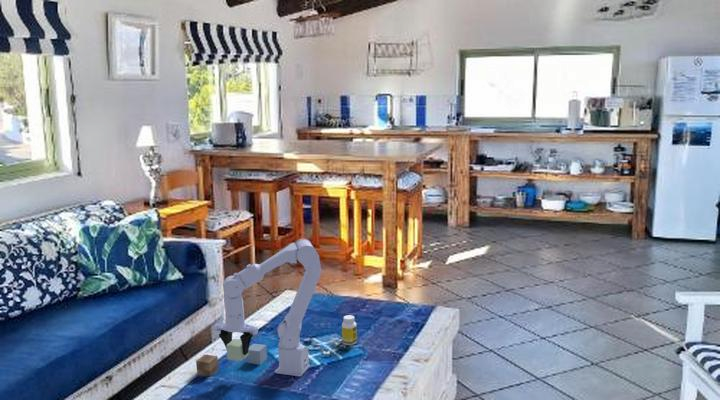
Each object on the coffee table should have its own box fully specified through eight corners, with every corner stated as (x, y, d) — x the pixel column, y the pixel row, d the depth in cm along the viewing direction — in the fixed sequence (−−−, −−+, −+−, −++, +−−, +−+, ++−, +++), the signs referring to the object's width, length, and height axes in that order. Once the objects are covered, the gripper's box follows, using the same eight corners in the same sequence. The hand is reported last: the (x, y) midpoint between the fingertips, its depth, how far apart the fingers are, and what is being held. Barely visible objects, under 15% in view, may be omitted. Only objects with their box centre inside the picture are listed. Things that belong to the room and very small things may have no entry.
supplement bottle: (355, 346, 222) (354, 320, 220) (340, 345, 223) (339, 319, 221) (358, 339, 227) (357, 314, 225) (344, 338, 228) (343, 313, 226)
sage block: (248, 354, 202) (247, 340, 201) (241, 361, 198) (240, 346, 197) (235, 352, 204) (234, 338, 203) (227, 359, 199) (226, 345, 198)
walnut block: (218, 369, 207) (217, 356, 206) (210, 376, 203) (209, 362, 202) (205, 368, 209) (204, 354, 208) (197, 375, 204) (196, 361, 203)
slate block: (267, 358, 215) (266, 345, 214) (260, 364, 210) (259, 351, 209) (254, 356, 216) (253, 343, 215) (247, 363, 212) (246, 349, 211)
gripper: (261, 310, 199) (263, 349, 202) (220, 307, 203) (223, 345, 206) (251, 318, 193) (254, 359, 195) (209, 315, 197) (213, 354, 200)
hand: (238, 352), depth 200 cm, fingers closed on sage block, 5 cm apart
